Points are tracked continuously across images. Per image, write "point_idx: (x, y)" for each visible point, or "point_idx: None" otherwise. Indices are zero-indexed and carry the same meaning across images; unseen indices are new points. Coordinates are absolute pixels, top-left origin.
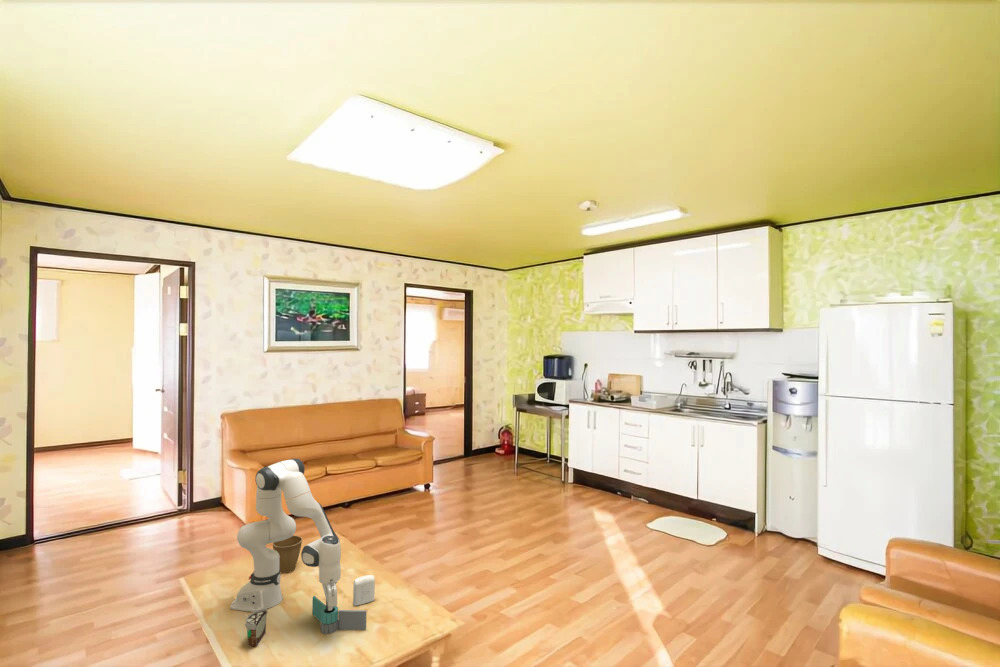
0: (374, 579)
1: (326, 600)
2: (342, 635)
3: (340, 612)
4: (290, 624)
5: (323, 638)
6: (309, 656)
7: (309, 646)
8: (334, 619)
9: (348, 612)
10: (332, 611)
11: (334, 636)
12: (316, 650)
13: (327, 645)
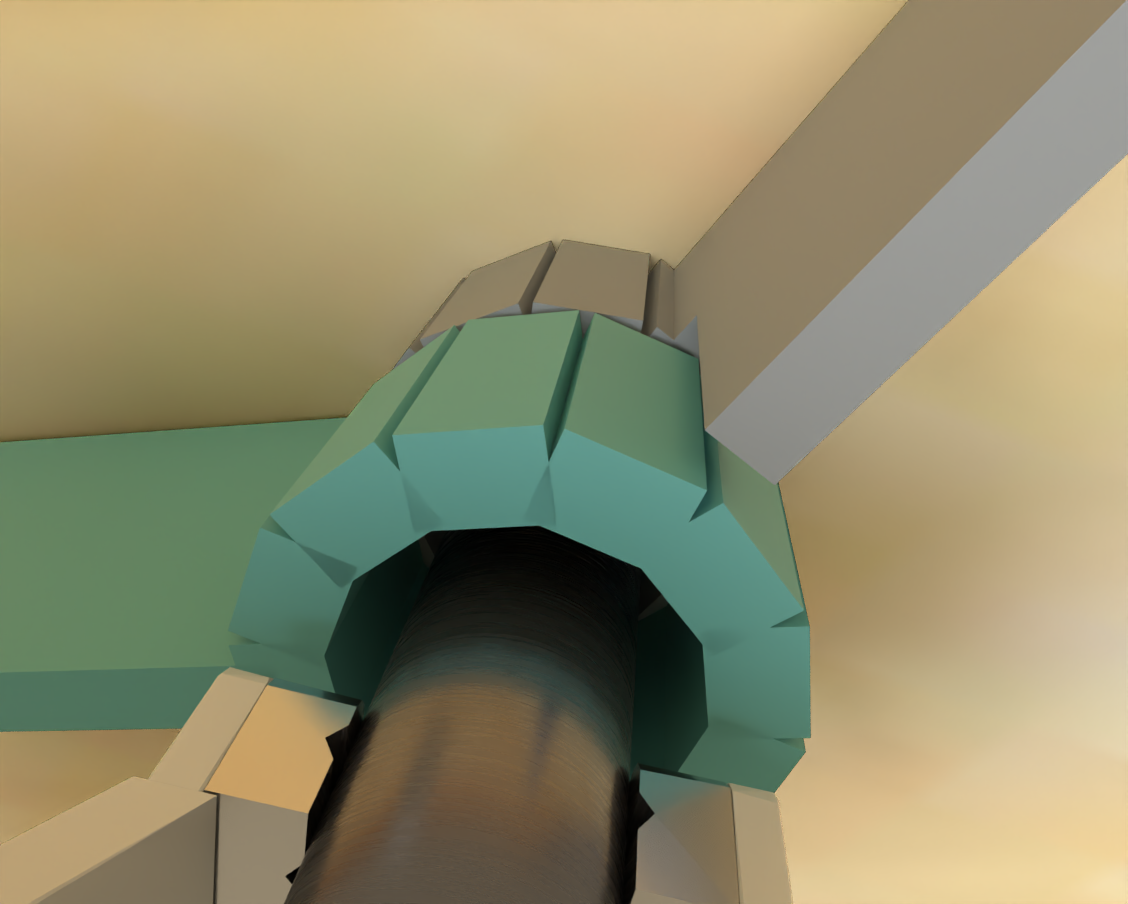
0: None
1: None
2: (1011, 284)
3: (836, 409)
4: (72, 799)
5: (804, 598)
6: (1106, 892)
7: (851, 814)
8: (784, 516)
9: (1103, 141)
10: (610, 615)
11: (904, 428)
12: (1050, 785)
13: (1077, 624)
